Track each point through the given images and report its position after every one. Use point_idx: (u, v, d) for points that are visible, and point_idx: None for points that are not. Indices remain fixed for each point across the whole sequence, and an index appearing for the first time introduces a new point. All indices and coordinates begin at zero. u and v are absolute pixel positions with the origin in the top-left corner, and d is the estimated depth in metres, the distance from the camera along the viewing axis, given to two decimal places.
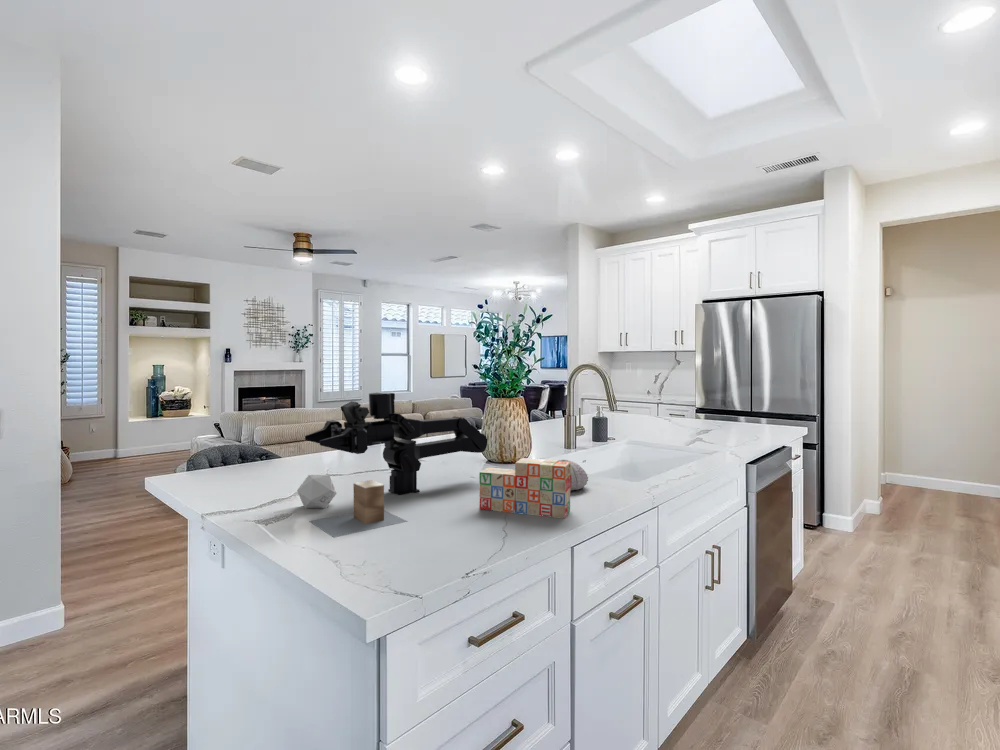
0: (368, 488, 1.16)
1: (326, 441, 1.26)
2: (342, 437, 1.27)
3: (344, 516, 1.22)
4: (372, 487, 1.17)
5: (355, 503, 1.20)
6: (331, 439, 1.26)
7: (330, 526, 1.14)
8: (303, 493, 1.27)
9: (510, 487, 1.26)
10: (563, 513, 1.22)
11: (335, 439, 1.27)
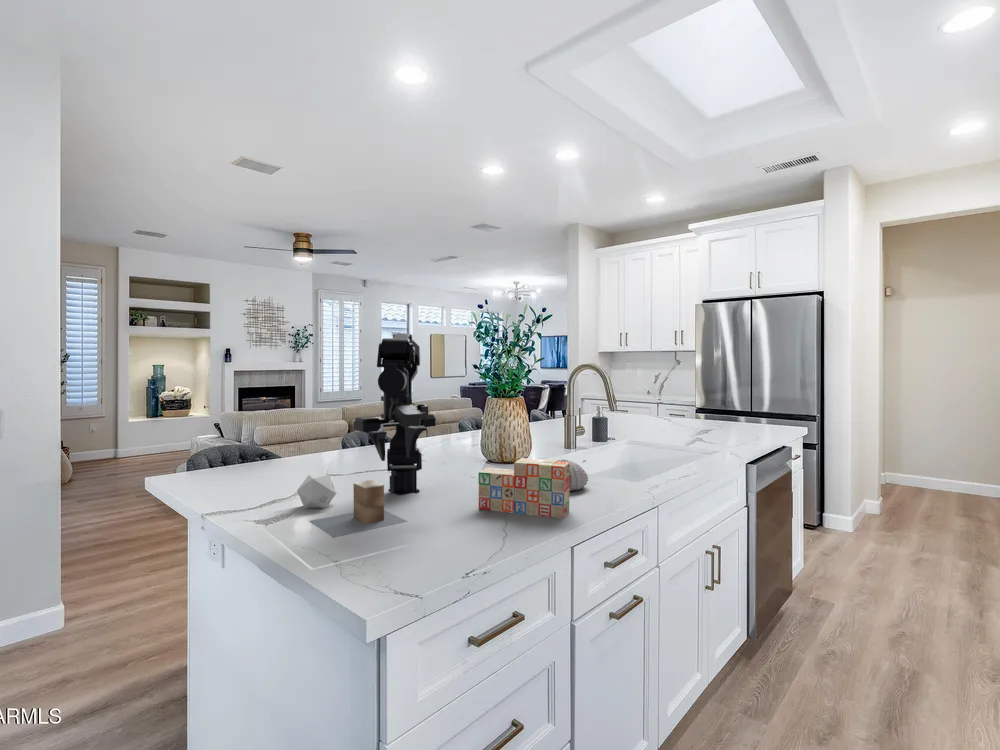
0: (368, 488, 1.16)
1: None
2: None
3: (344, 516, 1.22)
4: (372, 487, 1.17)
5: (355, 503, 1.20)
6: None
7: (330, 526, 1.14)
8: (303, 493, 1.27)
9: (509, 487, 1.26)
10: (562, 513, 1.22)
11: None
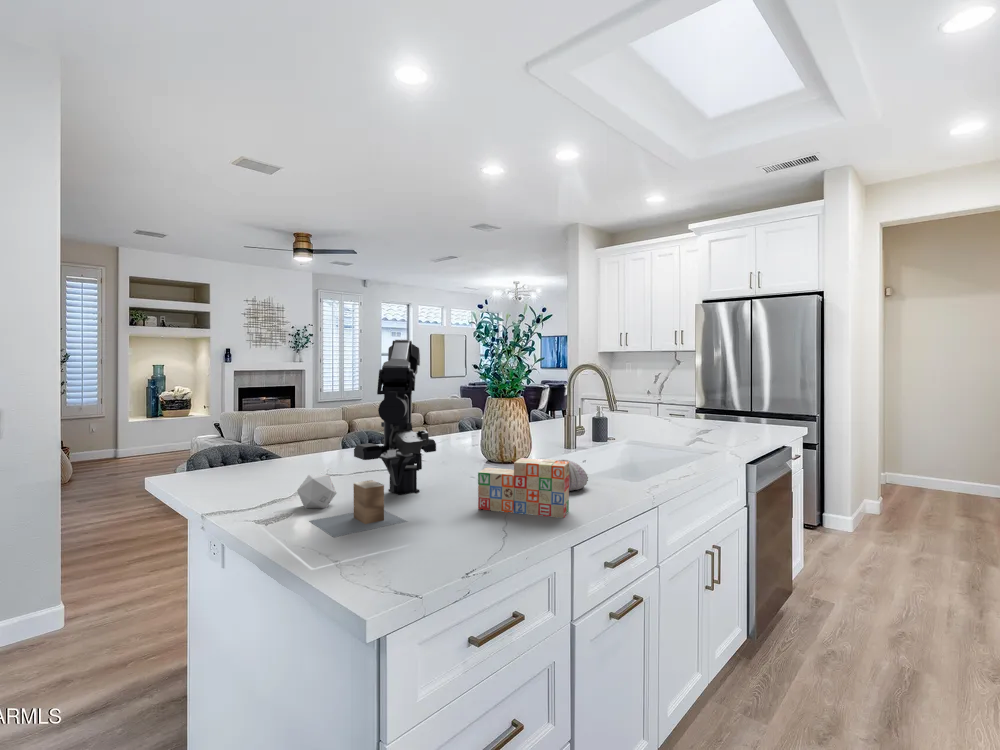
0: (368, 488, 1.16)
1: None
2: None
3: (344, 516, 1.22)
4: (372, 487, 1.17)
5: (355, 503, 1.20)
6: None
7: (330, 526, 1.14)
8: (303, 493, 1.27)
9: (509, 487, 1.26)
10: (562, 513, 1.22)
11: None
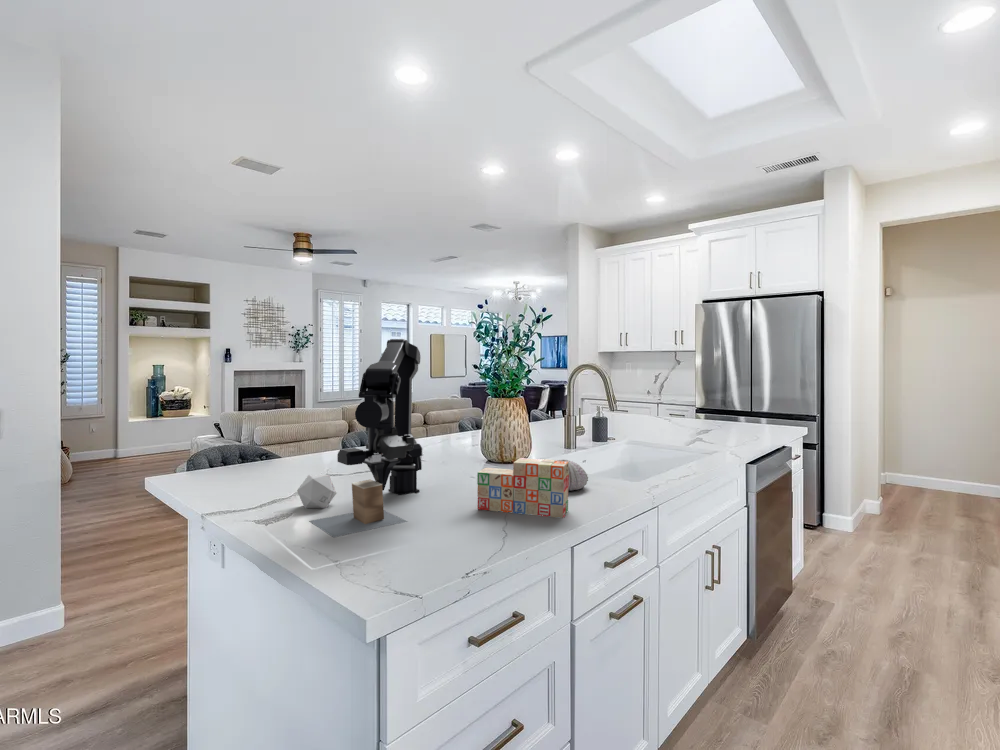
0: (366, 488, 1.16)
1: None
2: None
3: (344, 516, 1.22)
4: (370, 487, 1.17)
5: (354, 503, 1.20)
6: None
7: (330, 526, 1.14)
8: (303, 493, 1.27)
9: (508, 487, 1.26)
10: (561, 513, 1.22)
11: None
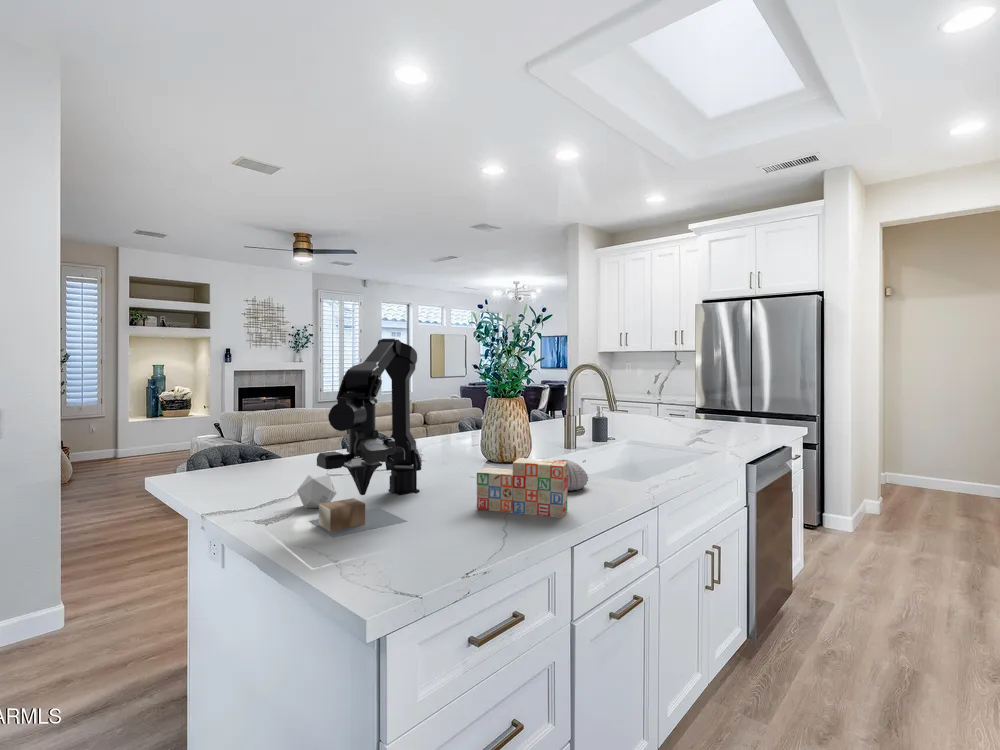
0: (330, 527, 1.11)
1: None
2: None
3: None
4: (330, 523, 1.11)
5: None
6: None
7: None
8: (303, 493, 1.27)
9: (507, 487, 1.26)
10: (561, 512, 1.22)
11: None
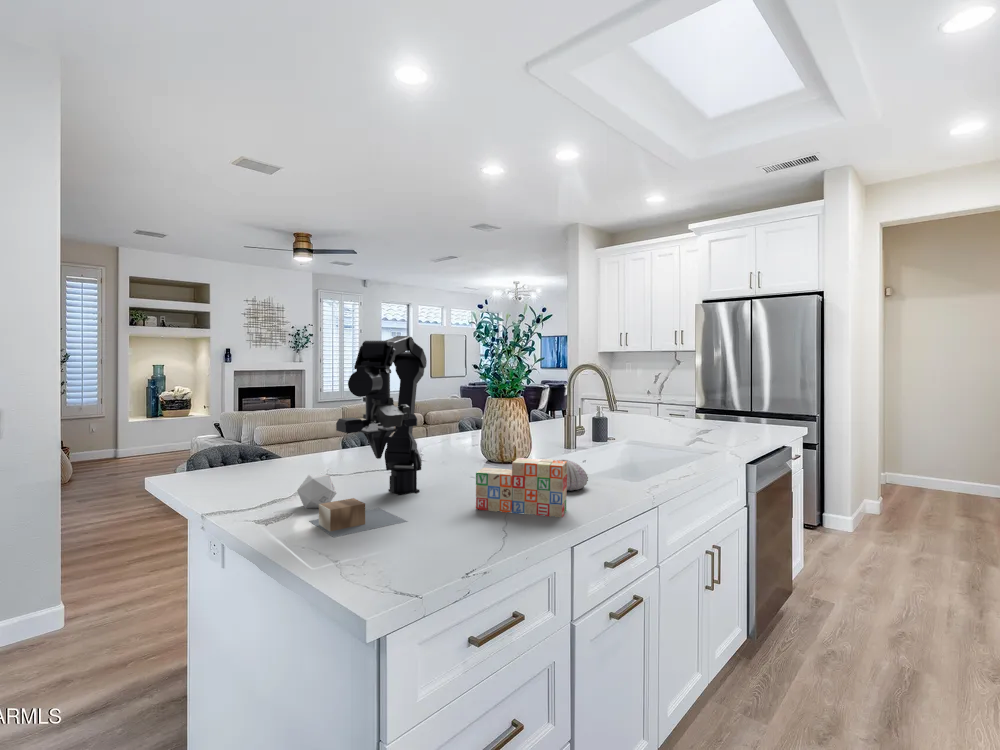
0: (330, 527, 1.11)
1: None
2: None
3: None
4: (330, 523, 1.11)
5: None
6: None
7: None
8: (303, 493, 1.27)
9: (507, 487, 1.26)
10: (560, 512, 1.23)
11: None
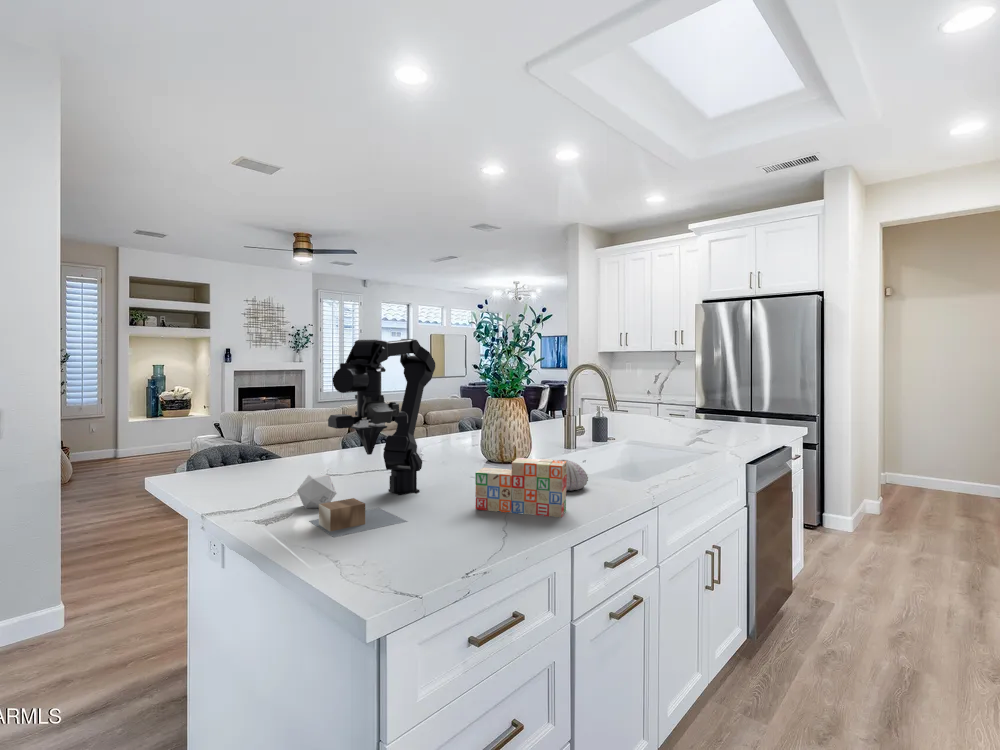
0: (330, 527, 1.11)
1: None
2: None
3: None
4: (330, 523, 1.11)
5: None
6: None
7: None
8: (303, 493, 1.27)
9: (506, 487, 1.26)
10: (560, 512, 1.23)
11: None
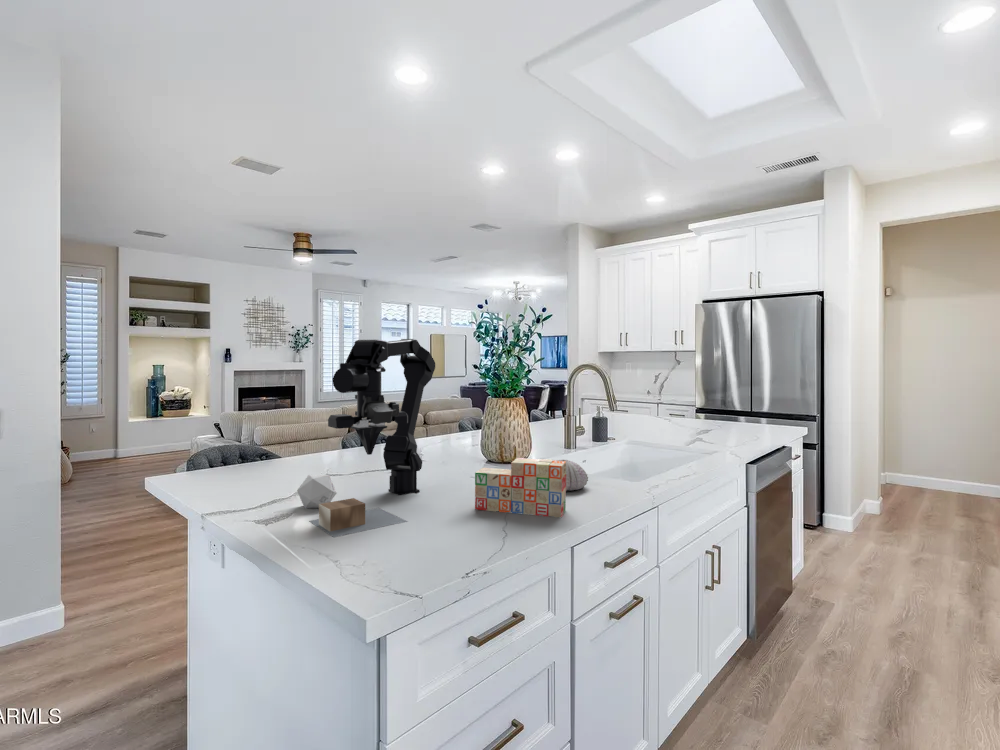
0: (330, 527, 1.11)
1: None
2: None
3: None
4: (330, 523, 1.11)
5: None
6: None
7: None
8: (303, 493, 1.27)
9: (506, 487, 1.26)
10: (559, 512, 1.23)
11: None
